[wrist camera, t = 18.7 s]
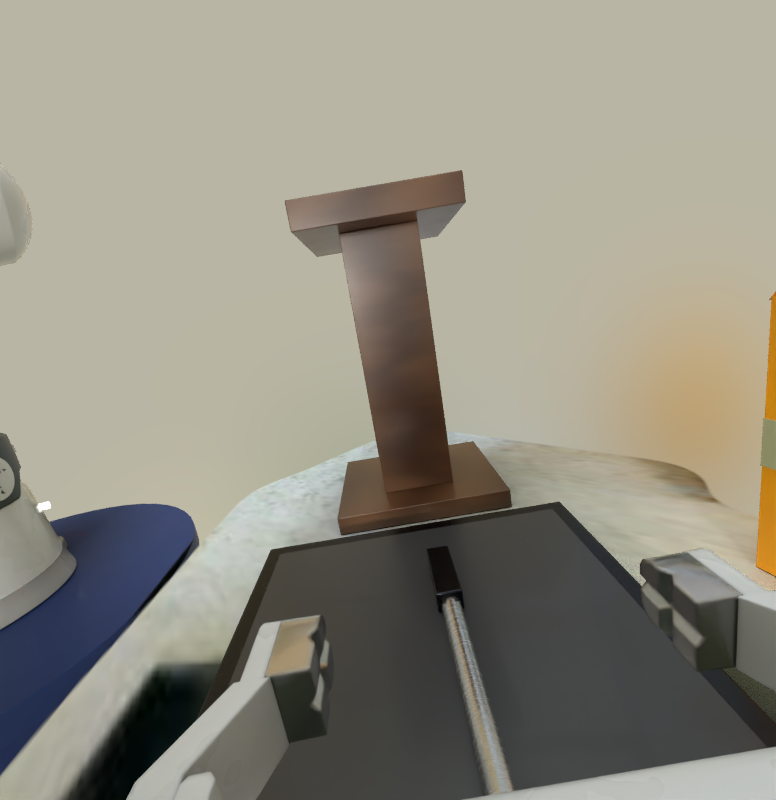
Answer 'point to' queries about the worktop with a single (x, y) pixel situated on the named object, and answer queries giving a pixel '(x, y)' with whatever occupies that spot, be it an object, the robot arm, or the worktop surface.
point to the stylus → (469, 675)
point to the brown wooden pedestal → (398, 352)
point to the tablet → (486, 663)
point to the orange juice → (769, 462)
